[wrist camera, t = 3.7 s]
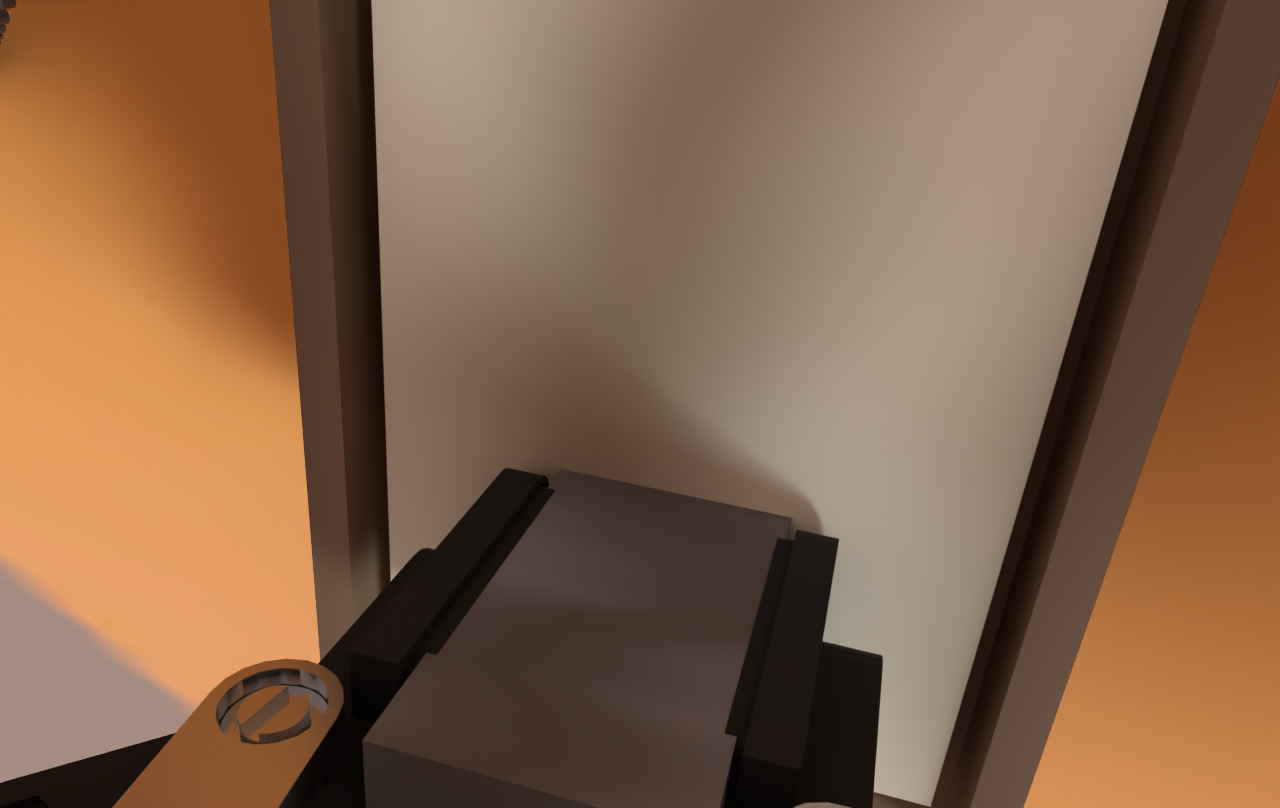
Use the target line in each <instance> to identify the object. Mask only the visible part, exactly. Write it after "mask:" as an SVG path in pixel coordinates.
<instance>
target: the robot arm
mask: <svg viewBox="0 0 1280 808" xmlns="http://www.w3.org/2000/svg"><path fill="white" fill-rule="evenodd" d="M548 486H549V482H548V478H547V477H546V476H544V475H539V474H534V473H530V472H525V471H520V470H516V469H511V468H505V469H504V470H502V471H501V472H500V474H499V475H498V476H497V477H496V478H495V479H494V481H493V482H492V483H491V484H490V485H489V486H488V488H487V489H486V490H485V491H484V492H483V494H482V495H481V496H480V497H479V498H478V499H477V501H476V502H475V503H474V504H473V505H472V506H471V508H470V509H469V510H468V511H467V512H466V513H465V515H464V516H463V517H462V518H461V519H460V521H459V522H458V523H457V524H456V525H455V526H454V528H453V529H452V530H451V531H450V532H449V533H448V535H447V536H446V537H445V538H444V539H443V540H442V542H441V543H440V544H439V545H438V546H437V548H436V549H430V548H424V549H420V550H419V551H418V552H417V553H416V554H415V555H414V556H413V557H412V558H411V559H410V560H409V561H408V562H407V563H406V565H405V566H404V567H403V568H402V569H401V570H400V571H399V573H398V574H397V575H396V576H395V577H394V578H393V579H392V581H391V582H390V583H389V584H388V585H387V586H386V587H385V588H384V590H383V591H382V592H381V593H380V594H379V595H378V596H377V598H376V599H375V600H374V601H373V602H372V603H371V604H370V606H369V607H368V608H367V609H366V610H365V611H364V612H363V613H362V615H361V616H360V617H359V618H358V619H357V620H356V621H355V623H354V624H353V625H352V626H351V627H350V628H349V629H348V631H347V632H346V633H345V634H344V635H343V636H342V637H341V639H340V640H339V641H338V642H337V643H336V644H335V645H334V646H333V648H332V649H331V650H330V651H329V652H328V653H327V654H326V656H325V657H324V658H323V659H322V660H321V661H320V662H319V664H316V663H313V662H310V661H307V660H296V659H280V660H272V661H265V662H262V663H258V664H255V665H252V666H249V667H246V668H243V669H242V670H240V671H238V672H236V673H234V674H233V675H231V676H229V677H227V678H225V679H224V680H223V681H222V682H221V683H220V684H219V685H218V686H216V687H215V688H214V689H213V690H212V691H211V692H210V693H209V694H208V695H207V697H206V698H205V699H204V700H203V701H202V703H201V704H200V705H199V706H198V707H197V708H196V710H195V711H194V712H193V713H192V714H191V715H190V717H189V718H188V719H187V720H186V721H185V723H184V724H183V725H182V726H181V727H180V728H179V730H178V731H177V732H176V733H174V734H170V735H167V736H163V737H160V738H156V739H153V740H149V741H146V742H142V743H139V744H135V745H132V746H128V747H125V748H122V749H118V750H114V751H111V752H107V753H104V754H101V755H97V756H93V757H90V758H86V759H83V760H79V761H75V762H72V763H68V764H65V765H61V766H58V767H55V768H51V769H47V770H44V771H40V772H37V773H33V774H30V775H27V776H23V777H19V778H16V779H12V780H9V781H5V782H2V783H0V808H366V799H365V780H364V761H363V743H362V740H363V739H364V737H365V736H366V735H367V733H368V732H369V731H370V729H371V728H372V727H373V725H374V724H375V722H376V721H377V720H378V718H379V717H380V716H381V714H382V713H383V712H384V710H385V709H386V707H387V706H388V705H389V703H390V702H391V701H392V699H393V698H394V697H395V695H396V694H397V692H398V691H399V690H400V688H401V687H402V686H403V684H404V683H405V681H406V680H407V679H408V677H409V676H410V675H411V673H412V672H413V671H414V669H415V668H416V666H417V665H418V664H419V662H420V661H421V660H422V658H423V657H424V656H425V654H426V653H429V654H433V655H437V654H438V653H439V651H440V650H441V648H442V647H443V646H444V644H445V643H446V642H447V640H448V639H449V637H450V636H451V635H452V633H453V632H454V630H455V629H456V628H457V626H458V625H459V623H460V622H461V621H462V619H463V618H464V617H465V615H466V614H467V612H468V611H469V610H470V608H471V607H472V605H473V604H474V603H475V601H476V600H477V598H478V597H479V596H480V594H481V593H482V592H483V590H484V589H485V587H486V586H487V585H488V583H489V582H490V580H491V579H492V578H493V576H494V575H495V574H496V572H497V571H498V569H499V568H500V567H501V565H502V564H503V562H504V561H505V560H506V558H507V557H508V555H509V554H510V553H511V551H512V550H513V549H514V547H515V546H516V544H517V543H518V542H519V540H520V539H521V537H522V536H523V535H524V533H525V532H526V530H527V529H528V528H529V526H530V525H531V524H532V522H533V521H534V519H535V518H536V517H537V515H538V514H539V512H540V511H541V510H542V508H543V507H544V505H545V504H546V503H547V501H548V500H549V499H550V497H551V496H552V494H553V493H554V492H555V490H554V489H549V488H548ZM838 544H839V539H838V538H834V537H829V536H824V535H820V534H815V533H810V532H806V531H801V530H797V531H796V535H795V539H794V540H789V539H782V538H778V539H777V542H776V546H775V549H774V553H773V557H772V560H771V564H770V568H769V571H768V575H767V579H766V582H765V586H764V590H763V593H762V597H761V601H760V604H759V608H758V612H757V615H756V619H755V623H754V626H753V630H752V634H751V637H750V641H749V645H748V648H747V652H746V656H745V659H744V663H743V667H742V670H741V674H740V678H739V681H738V685H737V689H736V692H735V696H734V700H733V703H732V707H731V711H730V714H729V718H728V722H727V725H726V729H725V734H728V735H732V736H736V737H737V739H736V744H735V748H734V753H733V758H732V763H731V768H730V774H729V779H728V785H727V791H726V797H725V803H724V808H873V794H874V780H875V766H876V752H877V739H878V725H879V711H880V697H881V684H882V670H883V657H882V655H879V654H874V653H870V652H866V651H862V650H858V649H853V648H849V647H845V646H841V645H837V644H832V643H828V642H824V641H823V635H824V629H825V623H826V617H827V611H828V605H829V599H830V592H831V586H832V580H833V574H834V568H835V562H836V556H837V550H838Z"/></svg>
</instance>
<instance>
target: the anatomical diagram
mask: <svg viewBox="0 0 1280 808" xmlns="http://www.w3.org/2000/svg"><path fill="white" fill-rule="evenodd" d="M15 6H16V0H0V39H3V36H4V35H2V34H1V33H4V32H5V31H6V26H5V24H7V23H9V22H10V17H9V14H8V12H7V10H6V9H10V8H14V7H15ZM0 44H1V41H0Z"/></svg>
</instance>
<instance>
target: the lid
mask: <svg viewBox="0 0 1280 808" xmlns="http://www.w3.org/2000/svg"><path fill="white" fill-rule="evenodd" d="M371 1H372V31H373V61H374V91H375V122H376V152H377V182H378V212H379V243H380V273H381V303H382V333H383V363H384V394H385V424H386V454H387V484H388V514H389V545H390V575H391V581H392V579H393V578H394V577H395V576H396V575H397V574H398V573H399V571H400V570H401V569H402V568H403V567H404V566H405V565H406V563H407V562H408V561H409V560H410V559H411V558H412V557H413V556H414V555H415V554H416V553H417V552H418V551H419V550H420V549H424V548H430V549H436V548H437V546H438V545H439V544H440V543H441V542H442V540H443V539H444V538H445V537H446V536H447V535H448V533H449V532H450V531H451V530H452V529H453V528H454V526H455V525H456V524H457V523H458V522H459V521H460V519H461V518H462V517H463V516H464V515H465V513H466V512H467V511H468V510H469V509H470V508H471V506H472V505H473V504H474V503H475V502H476V501H477V499H478V498H479V497H480V496H481V495H482V494H483V492H484V491H485V490H486V489H487V488H488V486H489V485H490V484H491V483H492V482H493V481H494V479H495V478H496V477H497V476H498V475H499V474H500V472H501V471H502V470H504V469H505V468H511V469H516V470H520V471H525V472H530V473H534V474H539V475H544V476H546V477H547V478H548V482H549V486H548V488H549V489H554V490H555V492H554V493H553V494H552V496H551V497H550V499H549V500H548V501H547V503H546V504H545V505H544V507H543V508H542V510H541V511H540V512H539V514H538V515H537V517H536V518H535V519H534V521H533V522H532V524H531V525H530V526H529V528H528V529H527V530H526V532H525V533H524V535H523V536H522V537H521V539H520V540H519V542H518V543H517V544H516V546H515V547H514V549H513V550H512V551H511V553H510V554H509V555H508V557H507V558H506V560H505V561H504V562H503V564H502V565H501V567H500V568H499V569H498V571H497V572H496V574H495V575H494V576H493V578H492V579H491V580H490V582H489V583H488V585H487V586H486V587H485V589H484V590H483V592H482V593H481V594H480V596H479V597H478V598H477V600H476V601H475V603H474V604H473V605H472V607H471V608H470V610H469V611H468V612H467V614H466V615H465V617H464V618H463V619H462V621H461V622H460V623H459V625H458V626H457V628H456V629H455V630H454V632H453V633H452V635H451V636H450V637H449V639H448V640H447V642H446V643H445V644H444V646H443V647H442V648H441V650H440V651H439V653H438V654H437V655H433V654H429V653H426V654H425V656H424V657H423V658H422V660H421V661H420V662H419V664H418V665H417V666H416V668H415V669H414V671H413V672H412V673H411V675H410V676H409V677H408V679H407V680H406V681H405V683H404V684H403V686H402V687H401V688H400V690H399V691H398V692H397V694H396V695H395V697H394V698H393V699H392V701H391V702H390V703H389V705H388V706H387V707H386V709H385V710H384V712H383V713H382V714H381V716H380V717H379V718H378V720H377V721H376V722H375V724H374V725H373V727H372V728H371V729H370V731H369V732H368V733H367V735H366V736H365V737H364V739H363V740H362V743H363V761H364V780H365V799H366V808H724V803H725V797H726V791H727V785H728V779H729V774H730V768H731V763H732V758H733V753H734V748H735V744H736V739H737V737H736V736H732V735H728V734H725V729H726V725H727V722H728V718H729V714H730V711H731V707H732V703H733V700H734V696H735V692H736V689H737V685H738V681H739V678H740V674H741V670H742V667H743V663H744V659H745V656H746V652H747V648H748V645H749V641H750V637H751V634H752V630H753V626H754V623H755V619H756V615H757V612H758V608H759V604H760V601H761V597H762V593H763V590H764V586H765V582H766V579H767V575H768V571H769V568H770V564H771V560H772V557H773V553H774V549H775V546H776V542H777V539H778V538H782V539H789V540H794V539H795V535H796V531H797V530H801V531H806V532H810V533H815V534H820V535H824V536H829V537H834V538H838V539H839V544H838V550H837V556H836V562H835V568H834V574H833V580H832V586H831V592H830V599H829V605H828V611H827V617H826V623H825V629H824V635H823V641H824V642H828V643H832V644H837V645H841V646H845V647H849V648H853V649H858V650H862V651H866V652H870V653H874V654H879V655H882V657H883V670H882V684H881V697H880V711H879V725H878V739H877V752H876V766H875V780H874V792H876V793H880V794H884V795H888V796H891V797H895V798H899V799H903V800H906V801H910V802H914V803H918V804H922V805H925V806H929V807H931V803H932V800H933V796H934V793H935V790H936V786H937V783H938V780H939V776H940V773H941V769H942V766H943V763H944V759H945V756H946V752H947V749H948V746H949V742H950V739H951V735H952V732H953V729H954V725H955V722H956V719H957V715H958V712H959V708H960V705H961V702H962V698H963V695H964V691H965V688H966V685H967V681H968V678H969V674H970V671H971V668H972V664H973V661H974V657H975V654H976V651H977V647H978V644H979V641H980V637H981V634H982V630H983V627H984V624H985V620H986V617H987V613H988V610H989V607H990V603H991V600H992V596H993V593H994V590H995V586H996V583H997V580H998V576H999V573H1000V569H1001V566H1002V563H1003V559H1004V556H1005V552H1006V549H1007V546H1008V542H1009V539H1010V535H1011V532H1012V529H1013V525H1014V522H1015V518H1016V515H1017V512H1018V508H1019V505H1020V502H1021V498H1022V495H1023V491H1024V488H1025V485H1026V481H1027V478H1028V474H1029V471H1030V468H1031V464H1032V461H1033V457H1034V454H1035V451H1036V447H1037V444H1038V441H1039V437H1040V434H1041V430H1042V427H1043V424H1044V420H1045V417H1046V413H1047V410H1048V407H1049V403H1050V400H1051V396H1052V393H1053V390H1054V386H1055V383H1056V379H1057V376H1058V373H1059V369H1060V366H1061V363H1062V359H1063V356H1064V352H1065V349H1066V346H1067V342H1068V339H1069V335H1070V332H1071V329H1072V325H1073V322H1074V318H1075V315H1076V312H1077V308H1078V305H1079V302H1080V298H1081V295H1082V291H1083V288H1084V285H1085V281H1086V278H1087V274H1088V271H1089V268H1090V264H1091V261H1092V257H1093V254H1094V251H1095V247H1096V244H1097V240H1098V237H1099V234H1100V230H1101V227H1102V224H1103V220H1104V217H1105V213H1106V210H1107V207H1108V203H1109V200H1110V196H1111V193H1112V190H1113V186H1114V183H1115V179H1116V176H1117V173H1118V169H1119V166H1120V163H1121V159H1122V156H1123V152H1124V149H1125V146H1126V142H1127V139H1128V135H1129V132H1130V129H1131V125H1132V122H1133V118H1134V115H1135V112H1136V108H1137V105H1138V101H1139V98H1140V95H1141V91H1142V88H1143V85H1144V81H1145V78H1146V74H1147V71H1148V68H1149V64H1150V61H1151V57H1152V54H1153V51H1154V47H1155V44H1156V40H1157V37H1158V34H1159V30H1160V27H1161V24H1162V20H1163V17H1164V13H1165V10H1166V7H1167V3H1168V0H371Z"/></svg>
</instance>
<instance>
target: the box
mask: <svg viewBox="0 0 1280 808" xmlns="http://www.w3.org/2000/svg"><path fill="white" fill-rule="evenodd" d="M270 13H271V26H272V39H273V52H274V65H275V78H276V91H277V104H278V117H279V130H280V143H281V156H282V169H283V182H284V194H285V207H286V220H287V233H288V246H289V259H290V272H291V285H292V298H293V311H294V324H295V337H296V350H297V363H298V376H299V389H300V402H301V415H302V428H303V441H304V454H305V466H306V479H307V492H308V505H309V518H310V531H311V544H312V557H313V570H314V583H315V596H316V609H317V622H318V635H319V648H320V661H321V660H322V659H323V658H324V657H325V656H326V654H327V653H328V652H329V651H330V650H331V649H332V648H333V646H334V645H335V644H336V643H337V642H338V641H339V640H340V639H341V637H342V636H343V635H344V634H345V633H346V632H347V631H348V629H349V628H350V627H351V626H352V625H353V624H354V623H355V621H356V620H357V619H358V618H359V617H360V616H361V615H362V613H363V612H364V611H365V610H366V609H367V608H368V607H369V606H370V604H371V603H372V602H373V601H374V600H375V599H376V598H377V596H378V595H379V594H380V593H381V592H382V591H383V590H384V588H385V587H386V586H387V585H388V584H389V583H390V582H391V575H390V545H389V514H388V484H387V454H386V424H385V394H384V363H383V333H382V303H381V273H380V243H379V212H378V182H377V152H376V122H375V91H374V61H373V31H372V1H371V0H270ZM1279 77H1280V0H1168V3H1167V7H1166V10H1165V13H1164V17H1163V20H1162V24H1161V27H1160V30H1159V34H1158V37H1157V40H1156V44H1155V47H1154V51H1153V54H1152V57H1151V61H1150V64H1149V68H1148V71H1147V74H1146V78H1145V81H1144V85H1143V88H1142V91H1141V95H1140V98H1139V101H1138V105H1137V108H1136V112H1135V115H1134V118H1133V122H1132V125H1131V129H1130V132H1129V135H1128V139H1127V142H1126V146H1125V149H1124V152H1123V156H1122V159H1121V163H1120V166H1119V169H1118V173H1117V176H1116V179H1115V183H1114V186H1113V190H1112V193H1111V196H1110V200H1109V203H1108V207H1107V210H1106V213H1105V217H1104V220H1103V224H1102V227H1101V230H1100V234H1099V237H1098V240H1097V244H1096V247H1095V251H1094V254H1093V257H1092V261H1091V264H1090V268H1089V271H1088V274H1087V278H1086V281H1085V285H1084V288H1083V291H1082V295H1081V298H1080V302H1079V305H1078V308H1077V312H1076V315H1075V318H1074V322H1073V325H1072V329H1071V332H1070V335H1069V339H1068V342H1067V346H1066V349H1065V352H1064V356H1063V359H1062V363H1061V366H1060V369H1059V373H1058V376H1057V379H1056V383H1055V386H1054V390H1053V393H1052V396H1051V400H1050V403H1049V407H1048V410H1047V413H1046V417H1045V420H1044V424H1043V427H1042V430H1041V434H1040V437H1039V441H1038V444H1037V447H1036V451H1035V454H1034V457H1033V461H1032V464H1031V468H1030V471H1029V474H1028V478H1027V481H1026V485H1025V488H1024V491H1023V495H1022V498H1021V502H1020V505H1019V508H1018V512H1017V515H1016V518H1015V522H1014V525H1013V529H1012V532H1011V535H1010V539H1009V542H1008V546H1007V549H1006V552H1005V556H1004V559H1003V563H1002V566H1001V569H1000V573H999V576H998V580H997V583H996V586H995V590H994V593H993V596H992V600H991V603H990V607H989V610H988V613H987V617H986V620H985V624H984V627H983V630H982V634H981V637H980V641H979V644H978V647H977V651H976V654H975V657H974V661H973V664H972V668H971V671H970V674H969V678H968V681H967V685H966V688H965V691H964V695H963V698H962V702H961V705H960V708H959V712H958V715H957V719H956V722H955V725H954V729H953V732H952V735H951V739H950V742H949V746H948V749H947V752H946V756H945V759H944V763H943V766H942V769H941V773H940V776H939V780H938V783H937V786H936V790H935V793H934V796H933V800H932V803H931V807H929V806H925V805H922V804H918V803H914V802H910V801H906V800H903V799H899V798H895V797H891V796H888V795H884V794H880V793H876V792H874V794H873V808H1023V807H1024V804H1025V801H1026V799H1027V796H1028V793H1029V790H1030V787H1031V784H1032V781H1033V779H1034V776H1035V773H1036V770H1037V767H1038V764H1039V761H1040V759H1041V756H1042V753H1043V750H1044V747H1045V744H1046V741H1047V739H1048V736H1049V733H1050V730H1051V727H1052V724H1053V722H1054V719H1055V716H1056V713H1057V710H1058V707H1059V704H1060V702H1061V699H1062V696H1063V693H1064V690H1065V687H1066V684H1067V682H1068V679H1069V676H1070V673H1071V670H1072V667H1073V664H1074V662H1075V659H1076V656H1077V653H1078V650H1079V647H1080V644H1081V642H1082V639H1083V636H1084V633H1085V630H1086V627H1087V624H1088V622H1089V619H1090V616H1091V613H1092V610H1093V607H1094V605H1095V602H1096V599H1097V596H1098V593H1099V590H1100V587H1101V585H1102V582H1103V579H1104V576H1105V573H1106V570H1107V567H1108V565H1109V562H1110V559H1111V556H1112V553H1113V550H1114V547H1115V545H1116V542H1117V539H1118V536H1119V533H1120V530H1121V527H1122V525H1123V522H1124V519H1125V516H1126V513H1127V510H1128V508H1129V505H1130V502H1131V499H1132V496H1133V493H1134V490H1135V488H1136V485H1137V482H1138V479H1139V476H1140V473H1141V470H1142V468H1143V465H1144V462H1145V459H1146V456H1147V453H1148V450H1149V448H1150V445H1151V442H1152V439H1153V436H1154V433H1155V430H1156V428H1157V425H1158V422H1159V419H1160V416H1161V413H1162V411H1163V408H1164V405H1165V402H1166V399H1167V396H1168V393H1169V391H1170V388H1171V385H1172V382H1173V379H1174V376H1175V373H1176V371H1177V368H1178V365H1179V362H1180V359H1181V356H1182V353H1183V351H1184V348H1185V345H1186V342H1187V339H1188V336H1189V333H1190V331H1191V328H1192V325H1193V322H1194V319H1195V316H1196V314H1197V311H1198V308H1199V305H1200V302H1201V299H1202V296H1203V294H1204V291H1205V288H1206V285H1207V282H1208V279H1209V276H1210V274H1211V271H1212V268H1213V265H1214V262H1215V259H1216V256H1217V254H1218V251H1219V248H1220V245H1221V242H1222V239H1223V236H1224V234H1225V231H1226V228H1227V225H1228V222H1229V219H1230V217H1231V214H1232V211H1233V208H1234V205H1235V202H1236V199H1237V197H1238V194H1239V191H1240V188H1241V185H1242V182H1243V179H1244V177H1245V174H1246V171H1247V168H1248V165H1249V162H1250V159H1251V157H1252V154H1253V151H1254V148H1255V145H1256V142H1257V139H1258V137H1259V134H1260V131H1261V128H1262V125H1263V122H1264V120H1265V117H1266V114H1267V111H1268V108H1269V105H1270V102H1271V100H1272V97H1273V94H1274V91H1275V88H1276V85H1277V82H1278V80H1279Z"/></svg>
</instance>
